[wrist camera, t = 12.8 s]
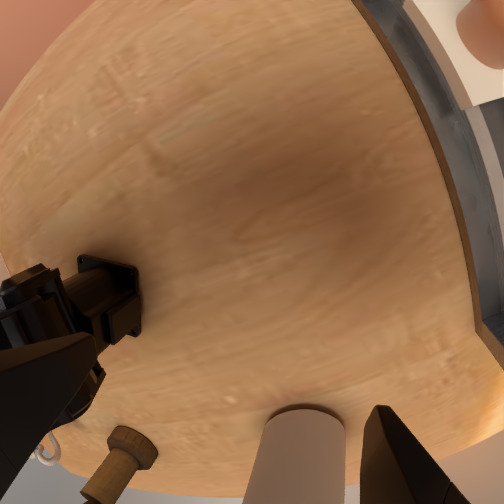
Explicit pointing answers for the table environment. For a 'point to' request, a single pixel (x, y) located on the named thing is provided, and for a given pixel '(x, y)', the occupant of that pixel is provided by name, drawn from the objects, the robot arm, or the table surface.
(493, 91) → the carriage
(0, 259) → the milk
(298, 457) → the can
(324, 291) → the table surface
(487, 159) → the rail
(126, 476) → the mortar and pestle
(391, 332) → the table surface
